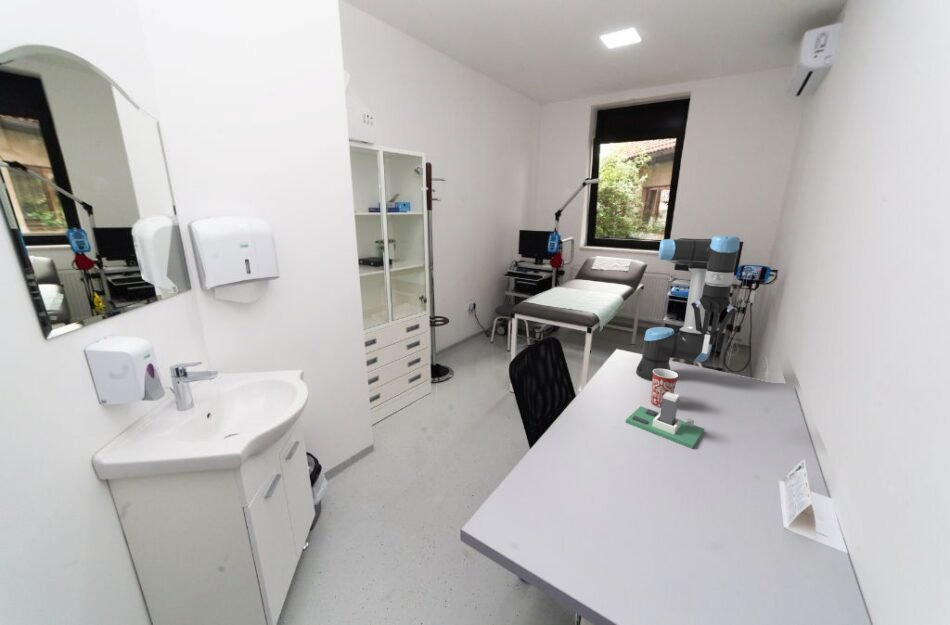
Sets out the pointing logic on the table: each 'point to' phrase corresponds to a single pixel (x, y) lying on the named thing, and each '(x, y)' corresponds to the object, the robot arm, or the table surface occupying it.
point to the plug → (669, 408)
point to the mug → (662, 385)
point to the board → (666, 427)
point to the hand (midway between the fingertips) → (705, 352)
